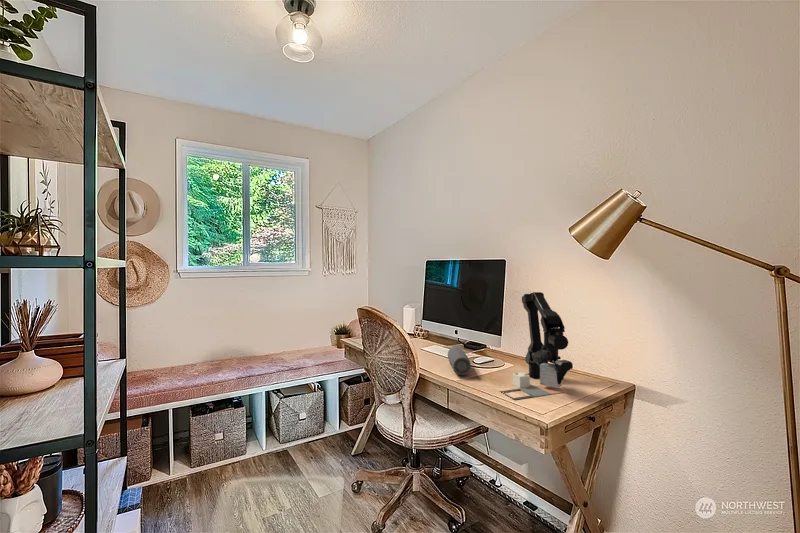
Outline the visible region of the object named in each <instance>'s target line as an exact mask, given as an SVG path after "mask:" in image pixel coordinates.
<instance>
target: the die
mask: <svg viewBox="0 0 800 533" xmlns="http://www.w3.org/2000/svg"><path fill="white" fill-rule="evenodd" d="M527 374H528V373H525V372H515V373H512V386H514V385H515V386H514V387H516V386H517V388H518V389H519V388H526V387H531V384H530V383H531V382H530V381H531V378H530V375H527Z"/></svg>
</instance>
